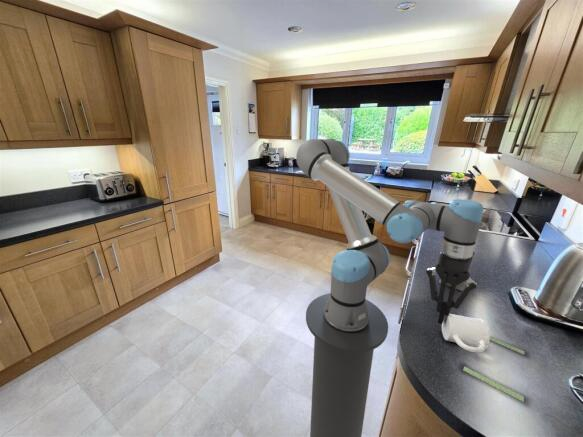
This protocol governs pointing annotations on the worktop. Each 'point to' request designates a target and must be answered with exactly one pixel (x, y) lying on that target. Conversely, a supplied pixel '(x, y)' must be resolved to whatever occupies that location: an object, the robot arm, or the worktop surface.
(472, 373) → the strips
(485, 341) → the mug
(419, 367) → the worktop surface
